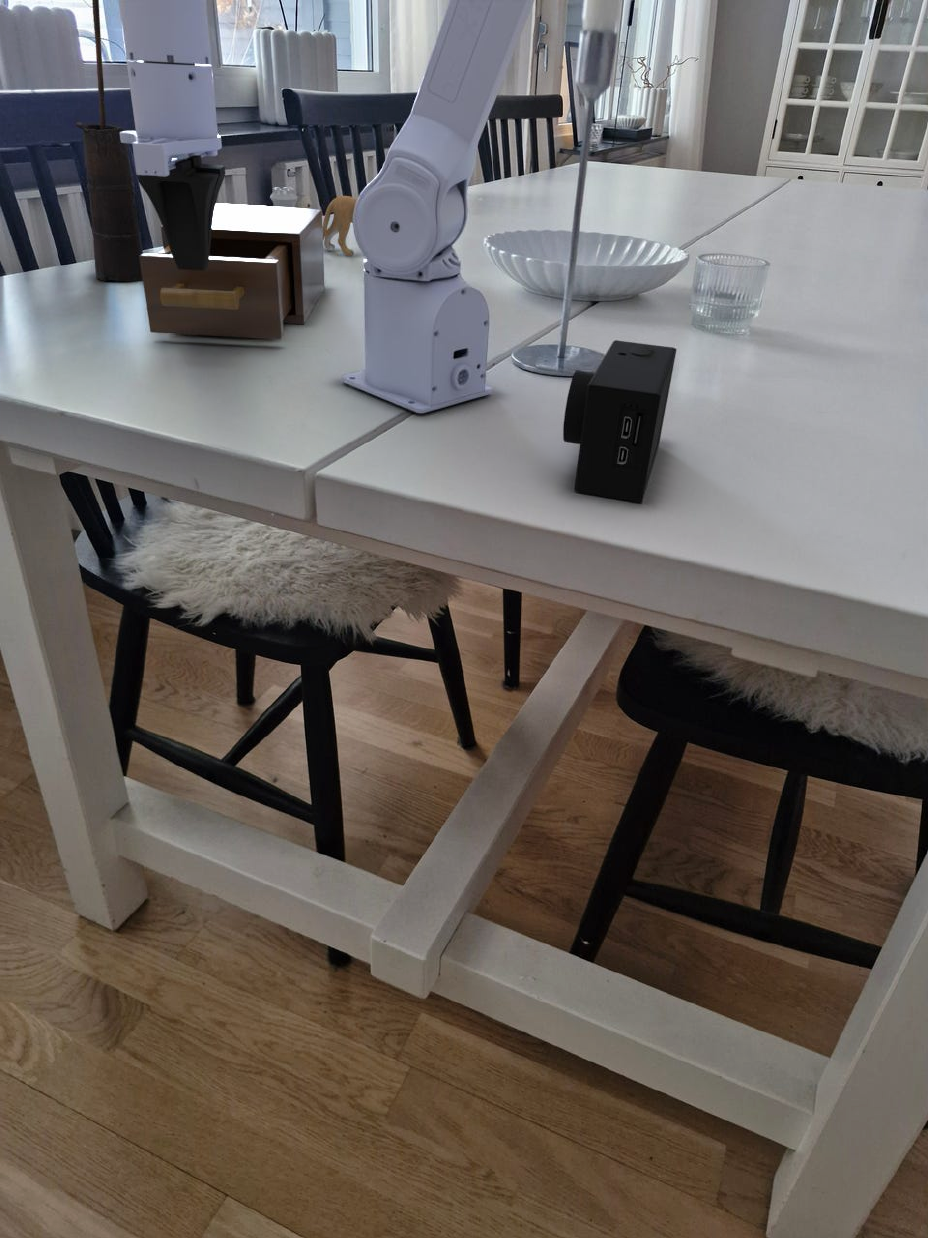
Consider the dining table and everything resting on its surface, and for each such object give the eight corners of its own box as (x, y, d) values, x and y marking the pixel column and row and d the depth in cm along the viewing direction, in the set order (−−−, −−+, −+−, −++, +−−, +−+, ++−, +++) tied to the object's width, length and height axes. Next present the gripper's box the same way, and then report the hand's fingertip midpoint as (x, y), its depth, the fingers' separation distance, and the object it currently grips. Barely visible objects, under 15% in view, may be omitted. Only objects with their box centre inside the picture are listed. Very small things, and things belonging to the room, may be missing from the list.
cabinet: (304, 324, 83) (299, 233, 79) (172, 317, 83) (160, 225, 78) (324, 289, 95) (321, 209, 91) (209, 283, 95) (201, 202, 91)
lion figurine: (420, 250, 117) (422, 175, 112) (427, 258, 112) (429, 181, 108) (310, 248, 114) (307, 172, 109) (313, 257, 109) (310, 177, 104)
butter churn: (89, 293, 89) (28, -50, 74) (55, 274, 95) (-9, -47, 79) (174, 283, 94) (133, -39, 79) (136, 266, 100) (91, -36, 85)
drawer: (272, 353, 72) (266, 273, 68) (134, 346, 72) (121, 265, 68) (305, 301, 87) (302, 234, 83) (191, 295, 86) (183, 227, 83)
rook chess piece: (298, 265, 105) (294, 192, 101) (263, 261, 106) (258, 189, 101) (310, 258, 109) (307, 187, 104) (277, 254, 109) (272, 184, 105)
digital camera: (583, 433, 63) (596, 335, 59) (659, 444, 62) (677, 345, 58) (555, 489, 54) (567, 379, 50) (641, 504, 53) (661, 392, 49)
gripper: (144, 58, 66) (167, 247, 74) (72, 59, 54) (109, 286, 62) (236, 64, 67) (250, 252, 74) (185, 66, 55) (208, 291, 62)
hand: (192, 268), depth 68 cm, fingers closed
